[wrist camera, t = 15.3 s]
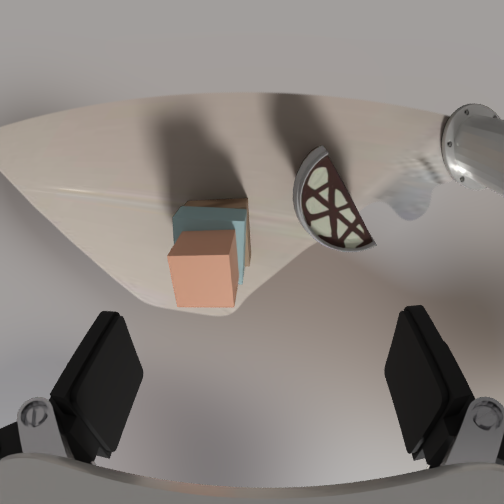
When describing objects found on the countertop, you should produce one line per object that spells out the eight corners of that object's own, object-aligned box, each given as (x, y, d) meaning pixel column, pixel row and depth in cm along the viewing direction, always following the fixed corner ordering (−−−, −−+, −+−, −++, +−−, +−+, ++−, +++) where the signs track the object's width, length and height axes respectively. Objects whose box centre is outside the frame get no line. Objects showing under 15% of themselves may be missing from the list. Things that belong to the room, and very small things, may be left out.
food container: (269, 160, 39) (269, 180, 30) (312, 136, 37) (325, 147, 28) (317, 237, 44) (329, 275, 35) (356, 216, 42) (378, 249, 33)
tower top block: (246, 209, 38) (244, 221, 35) (244, 267, 42) (242, 284, 38) (181, 206, 39) (172, 217, 35) (184, 263, 42) (176, 279, 39)
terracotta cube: (235, 229, 35) (229, 254, 30) (239, 276, 38) (234, 307, 33) (182, 231, 36) (167, 256, 30) (189, 277, 38) (177, 306, 33)
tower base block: (247, 197, 42) (245, 207, 38) (251, 252, 45) (249, 266, 42) (188, 200, 42) (180, 210, 39) (195, 253, 46) (189, 267, 42)
